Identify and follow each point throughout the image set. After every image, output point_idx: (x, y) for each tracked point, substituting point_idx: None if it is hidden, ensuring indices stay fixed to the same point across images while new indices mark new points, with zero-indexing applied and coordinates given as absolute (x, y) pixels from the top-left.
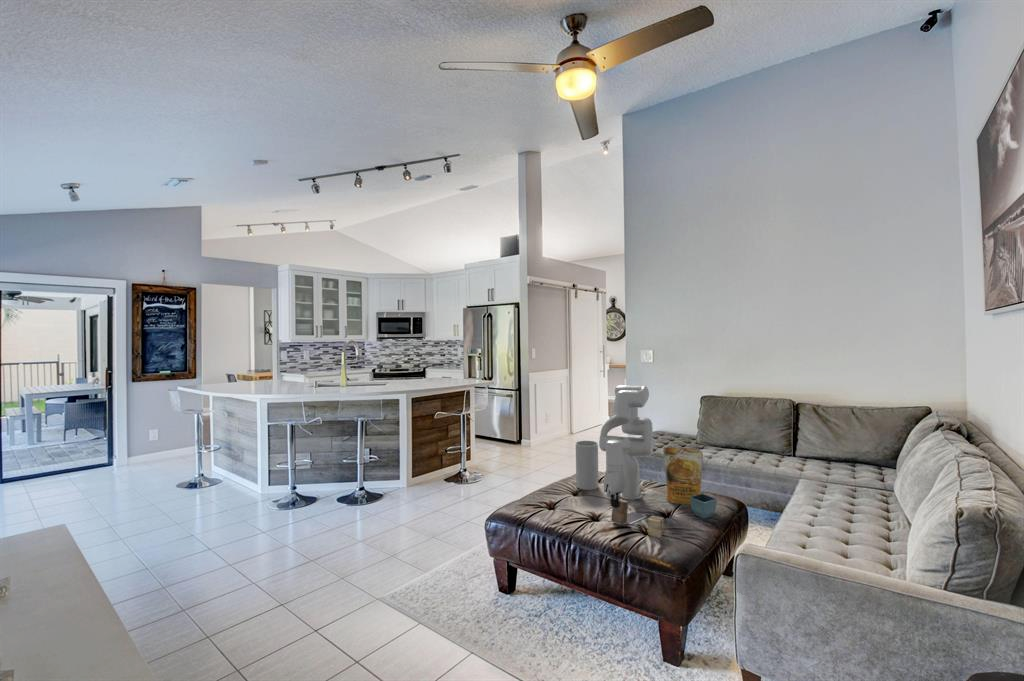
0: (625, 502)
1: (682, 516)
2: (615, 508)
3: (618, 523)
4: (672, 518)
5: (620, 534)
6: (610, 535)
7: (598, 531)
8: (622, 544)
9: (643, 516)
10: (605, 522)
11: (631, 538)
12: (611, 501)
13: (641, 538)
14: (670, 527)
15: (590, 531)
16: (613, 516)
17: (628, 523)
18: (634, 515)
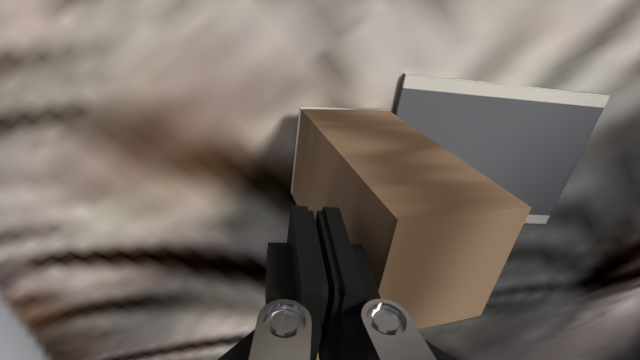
0: (426, 322)
1: (621, 324)
2: (339, 203)
3: (292, 184)
4: (578, 310)
5: (185, 251)
6: (110, 218)
7: (77, 115)
8: (80, 325)
9: (540, 209)
10: (282, 50)
11: (193, 314)
12: (296, 250)
13: (238, 340)
14: (459, 351)
15: (3, 59)
16: (312, 147)
17: None
18: (533, 159)
